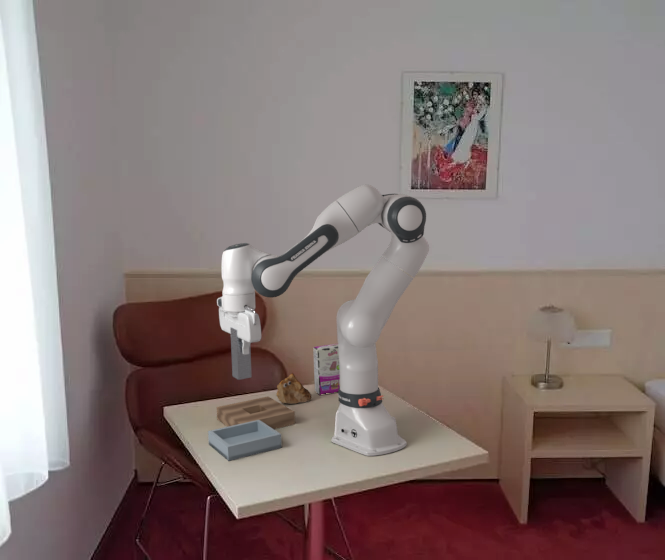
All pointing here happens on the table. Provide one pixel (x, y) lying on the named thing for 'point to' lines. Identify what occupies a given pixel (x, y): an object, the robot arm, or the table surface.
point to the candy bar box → (326, 369)
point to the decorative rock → (292, 391)
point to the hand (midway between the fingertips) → (241, 351)
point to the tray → (244, 440)
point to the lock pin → (239, 358)
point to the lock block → (256, 413)
